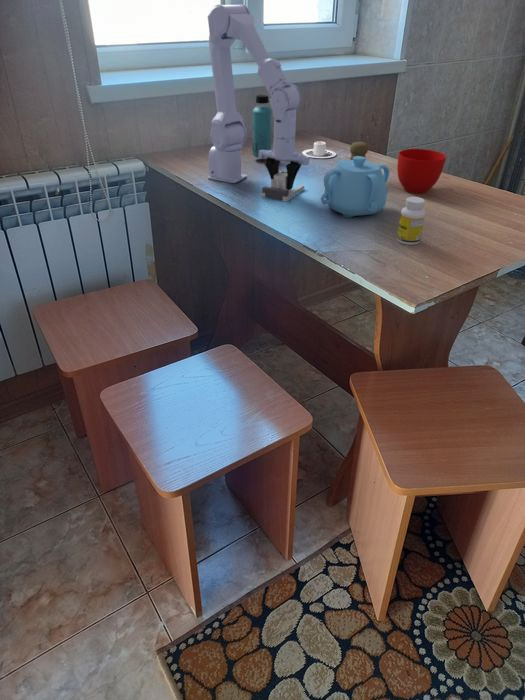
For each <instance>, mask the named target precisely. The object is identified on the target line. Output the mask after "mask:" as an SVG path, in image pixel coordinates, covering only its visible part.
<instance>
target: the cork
mask: <svg viewBox="0 0 525 700" xmlns="http://www.w3.org/2000/svg"><path fill="white" fill-rule="evenodd" d="M349 150H350V154H351V156H350V159H349V160H353V157H355V156H362V157H365V158H366V155H367V154H368V151H369V146H368V144H367V143H366V142H365V141H364V142H363V141H354V142H352V144H350V147H349Z"/></svg>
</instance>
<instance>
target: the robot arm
mask: <svg viewBox="0 0 525 700" xmlns="http://www.w3.org/2000/svg"><path fill="white" fill-rule="evenodd" d="M254 18H255V17H254V16H253V14H251V11H250V9H249V7H248V6H247V5H246V4H243V3H239V4H219V3H218V4H215V5H214V6H213V7H212V8H211V10H210V12H209V13H208V14H207V21H208V29H209V30H208V31H209V36H208V43H209V44H208V46H209V54H210V63H211V72H212V79H213V89H214V95H215V96H214V97H215V104H216V105H215V106H216V114H215V116H214V117H213V118H212V120H211V122H210V123H211V125H210V126H211V130H210V141H211V143H212V145H213V146H211V148H209V149H210V150H209V151H208V176H207V179H209V180H214V181H220V182H225V183H232V184H236V183H238V182H239V181H241V180H244V179H245V178H247V177H248V175H247V174H242V147H244V145H243V144H244V143H246V140H247V135H248V134H247V133H248V132H247V128H246V127H245V123H244V117H243V116H242V115H241V114H240V113H239V112H238V111H237V105H236V94H235V86H234V84H235V83H234V75H233V74H234V73H233V65H232V55H231V54H232V52H231V47H232V45H233V44H234V43H235V41H236V40H238V41H239V40H240V41H241V42H242V44H243V45H244V47H245V48H246V50H247V51H248V53H249V54H250V56H251V58H252V59H253V60H254V62H255V63H256V65H257V66H258V67H257V76H258V77H259V78H260V80H261V82H262V85H264V87H265V89H266V90H267V93H268V94H269V95H270V98H269V105H270V109H271V110H272V117H273V144H272V145H273V148H272V149H271V150H260V151H259V155H258V159H265V160H266V161H265V162H264V165H265V167H266V169H267V171H268V175H269V177H270V180H271V179H274V175H275V174H277V173H279V172H280V171H279V170H280V165H281V162H286V163H287V164H286V165H285V167H286V172H287V190H291V191H292V190H293V189H294V183H295V181H296V177H297V175H298V172H299V170H300V168H301V167H302V166H305V167H306V166H308V165H310V158H311V157H308V156H305V155H303V154H300V153H297V152H295V146H296V145H295V141H296V128H297V127H296V125H297V109H298V108H300V106H301V104H302V93H301V91H300V88H299V87H298V86H297V85H295V84H293V83H292V82H291V81H290V80H289V79H288V77H287V76H286V74H285V72H284V71H283V69H282V64H281V62H280V61H278V60H277V59H276V58H271V57H270V55H269V53H268V52H267V50H266V48H265V45H264V43H263V41H262V40H261V36H260V35H259V33H258V31H257V29H256V27H255V25H254V24H255V23H254V21H255V20H254Z"/></svg>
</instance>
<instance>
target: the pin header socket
mask: <svg viewBox="0 0 525 700" xmlns="http://www.w3.org/2000/svg"><path fill="white" fill-rule="evenodd" d="M285 184H286V181H283V186H282V189H279V186H280V180H277V188H274V179H271V178H270V186H263V187H262V188H261V193H260V196H261V197H262V198H266V197H267V199H271V198H272V200H276V199H277V200H278V201H281V200H283V201H282V202H286V201H287V202H288V201H289V200H291V199H292V198H294V197H295V196H297V195H298V194H299V192H300V191H301V192H303V191H304V190H305V185H304V184H299V185H298V186H296V187H295V188H292V189H291V191H290V192H289V191H288V190H285ZM303 189H304V190H303ZM301 192H300V193H301ZM297 193H298V194H297ZM296 194H297V195H296ZM294 195H295V196H294ZM293 196H294V197H293ZM290 198H291V199H290Z"/></svg>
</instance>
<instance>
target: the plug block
mask: <svg viewBox="0 0 525 700" xmlns="http://www.w3.org/2000/svg"><path fill="white" fill-rule="evenodd" d="M277 180H280V186H279V189H282V186H283V181H286V184H285V190H287V170H281V171H279V172H278V173H277V174H275V175H274V188H277ZM288 191H289V192H290V191H292V189H291V190H288Z"/></svg>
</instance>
